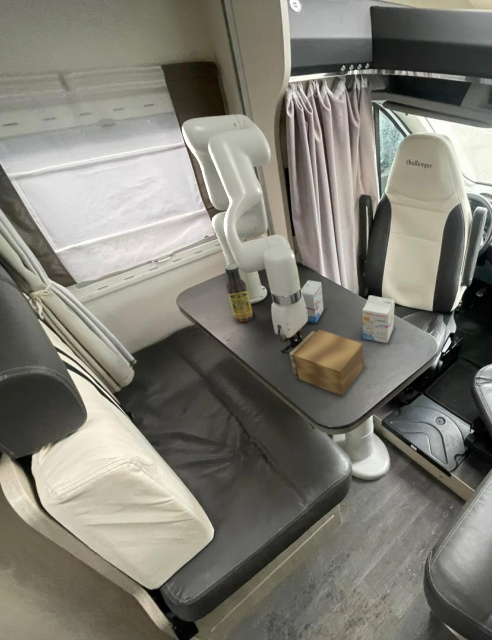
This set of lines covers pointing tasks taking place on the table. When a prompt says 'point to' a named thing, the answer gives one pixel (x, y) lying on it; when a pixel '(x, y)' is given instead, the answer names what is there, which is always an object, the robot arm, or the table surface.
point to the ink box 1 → (313, 300)
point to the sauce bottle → (238, 294)
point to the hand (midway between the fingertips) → (297, 347)
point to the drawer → (288, 346)
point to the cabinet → (329, 361)
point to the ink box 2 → (378, 319)
